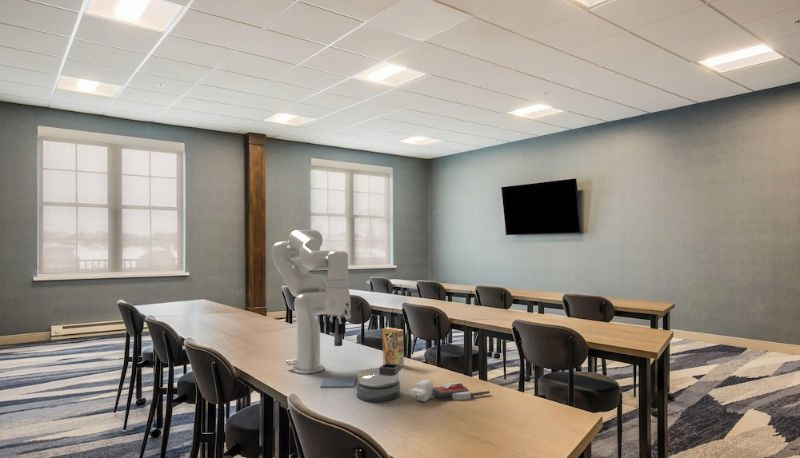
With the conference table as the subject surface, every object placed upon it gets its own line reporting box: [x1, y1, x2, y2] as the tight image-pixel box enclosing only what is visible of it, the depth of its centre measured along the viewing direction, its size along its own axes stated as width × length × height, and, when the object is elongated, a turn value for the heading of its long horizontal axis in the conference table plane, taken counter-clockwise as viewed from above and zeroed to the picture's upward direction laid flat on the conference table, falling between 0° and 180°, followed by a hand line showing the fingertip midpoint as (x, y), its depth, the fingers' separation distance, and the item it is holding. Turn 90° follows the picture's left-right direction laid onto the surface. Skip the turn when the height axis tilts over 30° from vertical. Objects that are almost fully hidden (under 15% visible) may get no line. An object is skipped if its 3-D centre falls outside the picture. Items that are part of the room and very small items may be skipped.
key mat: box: [320, 376, 356, 389], centre depth 174 cm, size 12×10×1 cm
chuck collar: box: [357, 363, 402, 389], centre depth 161 cm, size 14×14×5 cm
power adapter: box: [406, 379, 434, 402], centre depth 154 cm, size 11×5×6 cm, turn 147°
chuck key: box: [333, 317, 344, 347], centre depth 174 cm, size 3×3×10 cm
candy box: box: [381, 327, 405, 367], centre depth 199 cm, size 9×4×15 cm, turn 49°
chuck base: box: [356, 381, 401, 404], centre depth 161 cm, size 15×15×4 cm
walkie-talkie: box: [432, 381, 491, 401], centre depth 160 cm, size 9×4×20 cm
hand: (338, 333), depth 174 cm, fingers closed on chuck key, 3 cm apart
